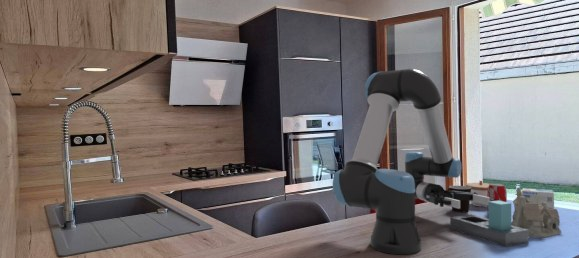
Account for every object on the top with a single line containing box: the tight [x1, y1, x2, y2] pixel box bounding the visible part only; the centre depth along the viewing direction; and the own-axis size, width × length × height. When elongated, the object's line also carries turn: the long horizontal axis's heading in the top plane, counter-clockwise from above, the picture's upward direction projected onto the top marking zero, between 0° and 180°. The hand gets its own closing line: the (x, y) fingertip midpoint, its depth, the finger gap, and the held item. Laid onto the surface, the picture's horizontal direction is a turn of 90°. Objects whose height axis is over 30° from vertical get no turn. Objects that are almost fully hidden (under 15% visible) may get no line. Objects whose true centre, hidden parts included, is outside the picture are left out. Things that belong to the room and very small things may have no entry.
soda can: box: [487, 182, 508, 209], centre depth 157 cm, size 7×7×12 cm
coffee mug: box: [447, 185, 471, 213], centre depth 164 cm, size 12×9×10 cm
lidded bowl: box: [465, 180, 490, 208], centre depth 173 cm, size 13×13×11 cm
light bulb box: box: [521, 188, 555, 209], centre depth 150 cm, size 11×7×11 cm, turn 58°
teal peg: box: [487, 201, 512, 231], centre depth 123 cm, size 5×5×12 cm
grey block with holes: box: [449, 213, 529, 248], centre depth 128 cm, size 22×10×4 cm, turn 22°
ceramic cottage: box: [511, 187, 562, 238], centre depth 131 cm, size 16×16×15 cm
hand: (474, 202), depth 132 cm, fingers open, 13 cm apart
